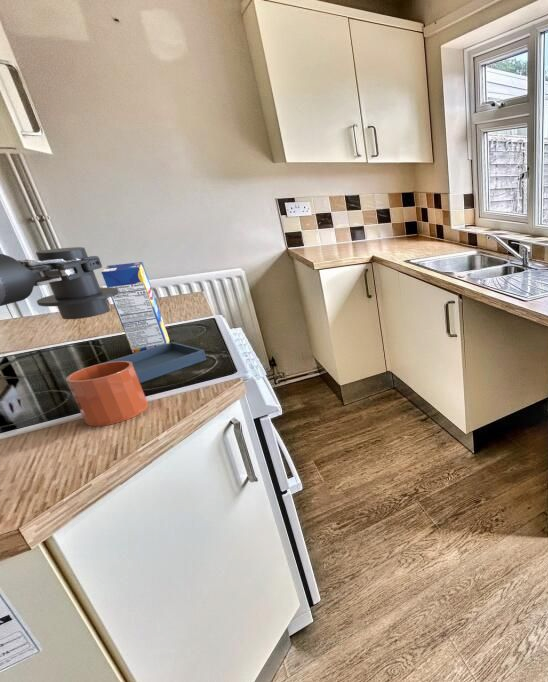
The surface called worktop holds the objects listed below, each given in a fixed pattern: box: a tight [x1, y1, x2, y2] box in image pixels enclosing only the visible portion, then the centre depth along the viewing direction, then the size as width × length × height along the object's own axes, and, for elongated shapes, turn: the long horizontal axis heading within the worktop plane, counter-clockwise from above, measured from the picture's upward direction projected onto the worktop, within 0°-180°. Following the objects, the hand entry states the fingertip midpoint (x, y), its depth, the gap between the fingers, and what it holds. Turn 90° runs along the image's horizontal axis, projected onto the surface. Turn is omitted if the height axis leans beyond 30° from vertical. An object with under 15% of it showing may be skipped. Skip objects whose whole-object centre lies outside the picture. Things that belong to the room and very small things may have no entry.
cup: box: [65, 361, 149, 427], centre depth 79 cm, size 9×9×9 cm
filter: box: [35, 246, 119, 320], centre depth 75 cm, size 11×11×12 cm
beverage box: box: [100, 261, 171, 354], centre depth 108 cm, size 7×11×22 cm, turn 36°
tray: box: [76, 341, 208, 384], centre depth 99 cm, size 19×14×3 cm
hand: (79, 262), depth 76 cm, fingers closed on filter, 6 cm apart
